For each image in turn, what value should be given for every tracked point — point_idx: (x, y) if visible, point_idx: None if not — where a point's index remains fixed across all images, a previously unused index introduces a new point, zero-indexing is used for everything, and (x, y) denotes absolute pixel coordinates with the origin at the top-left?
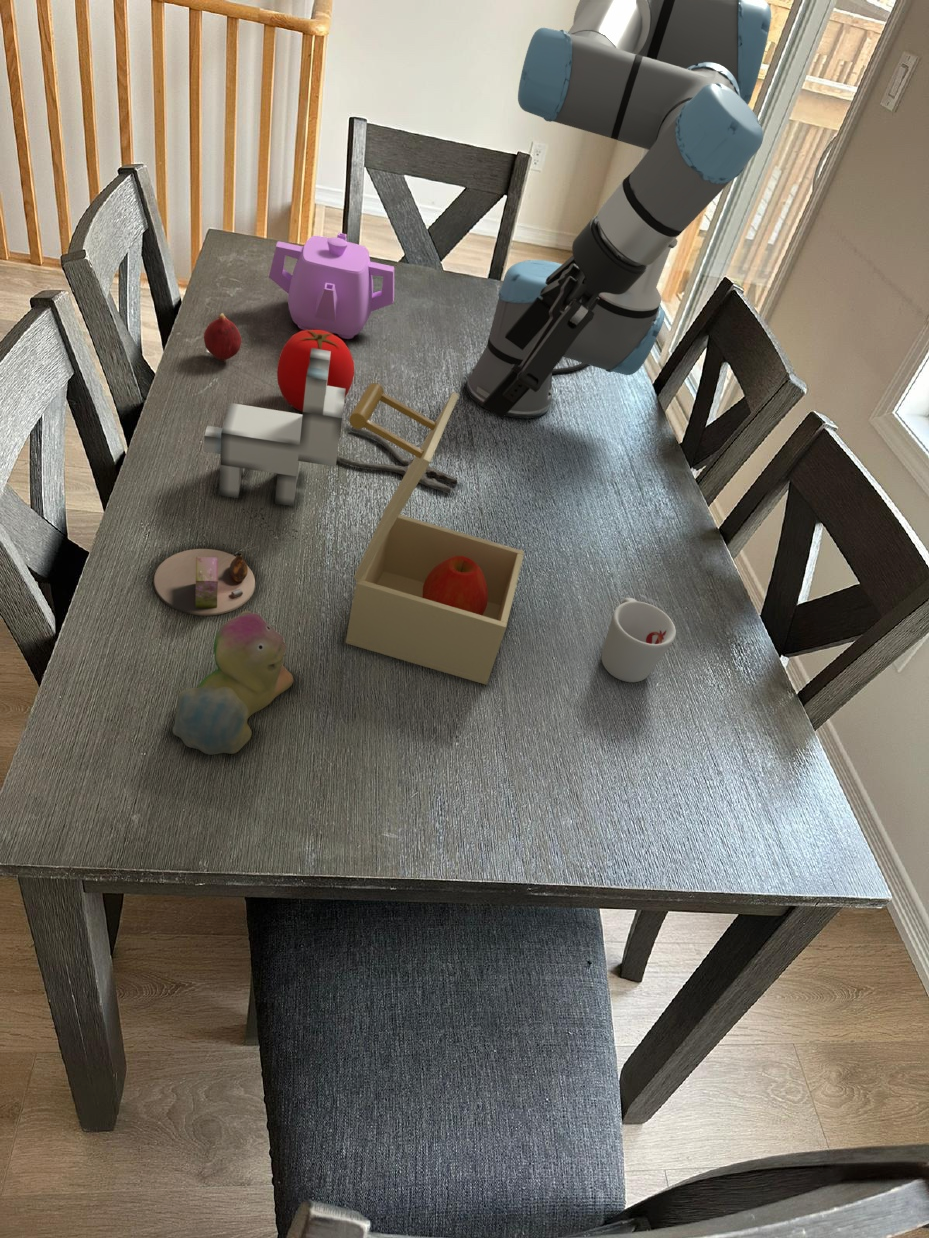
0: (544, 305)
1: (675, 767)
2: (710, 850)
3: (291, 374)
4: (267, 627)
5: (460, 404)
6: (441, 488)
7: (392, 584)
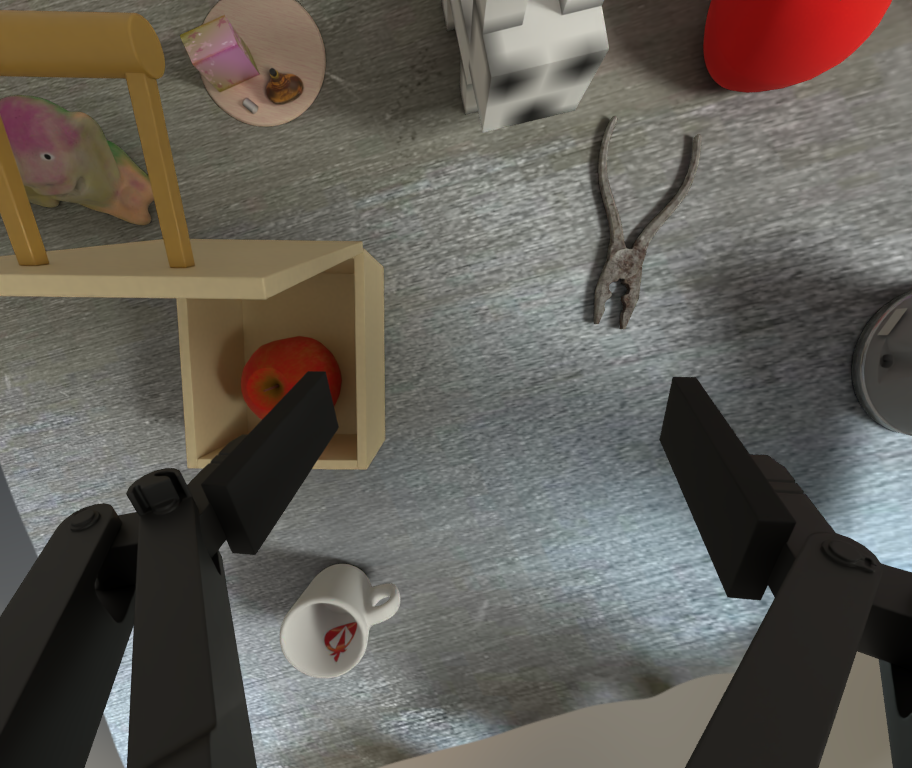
0: (753, 555)
1: None
2: (128, 680)
3: None
4: (44, 155)
5: (858, 290)
6: (595, 310)
7: (353, 293)
